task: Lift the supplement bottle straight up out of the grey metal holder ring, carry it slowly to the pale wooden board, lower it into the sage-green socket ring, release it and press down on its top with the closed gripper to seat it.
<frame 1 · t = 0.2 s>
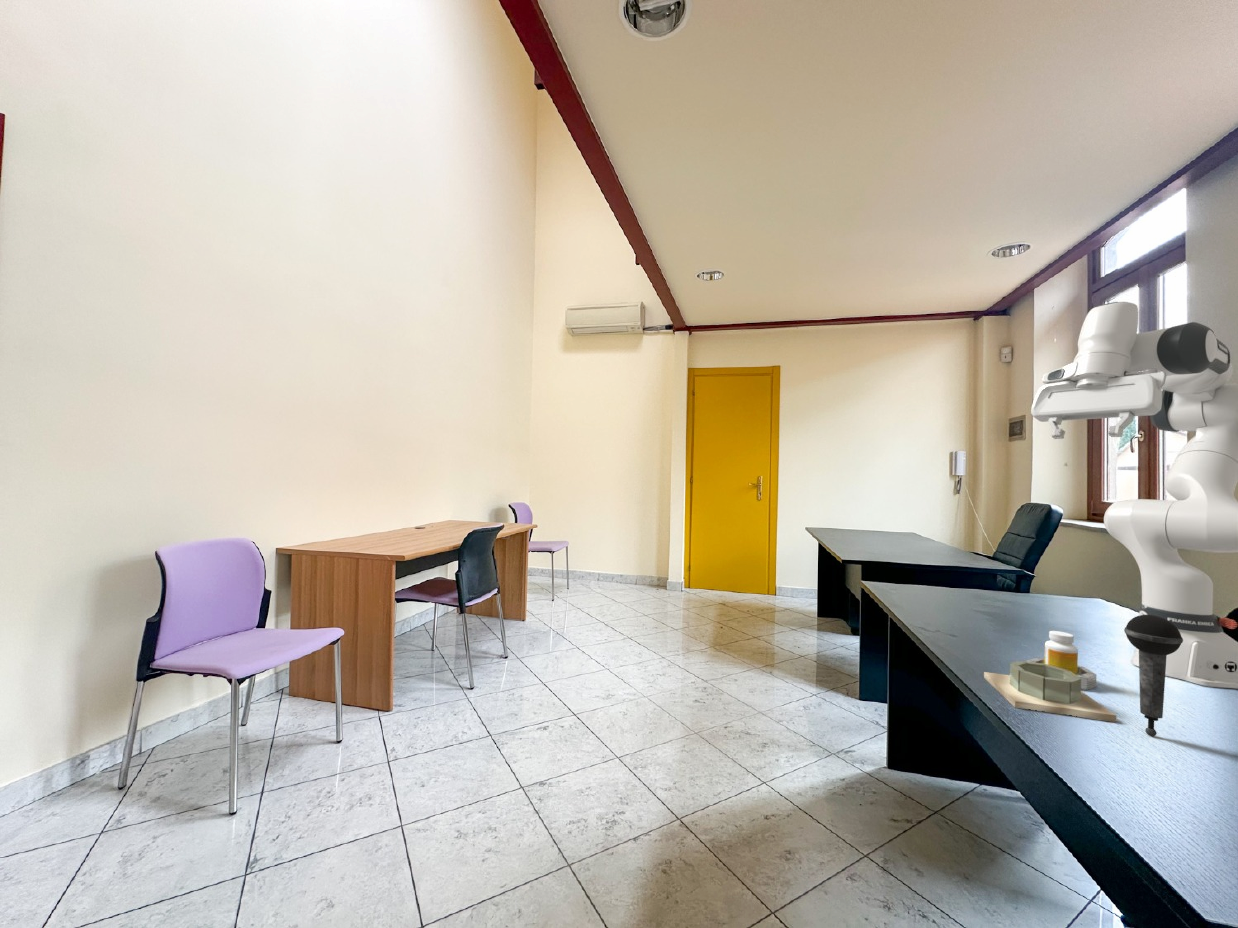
hand: (1084, 437, 104), 51 cm above the table, tool tilted 20°, fingers open, 8 cm apart
socket board: (1043, 697, 100), on the table
holder ring: (1060, 678, 110), on the table
microphone: (1150, 736, 86), on the table
supplement bottle: (1060, 679, 110), resting in holder ring
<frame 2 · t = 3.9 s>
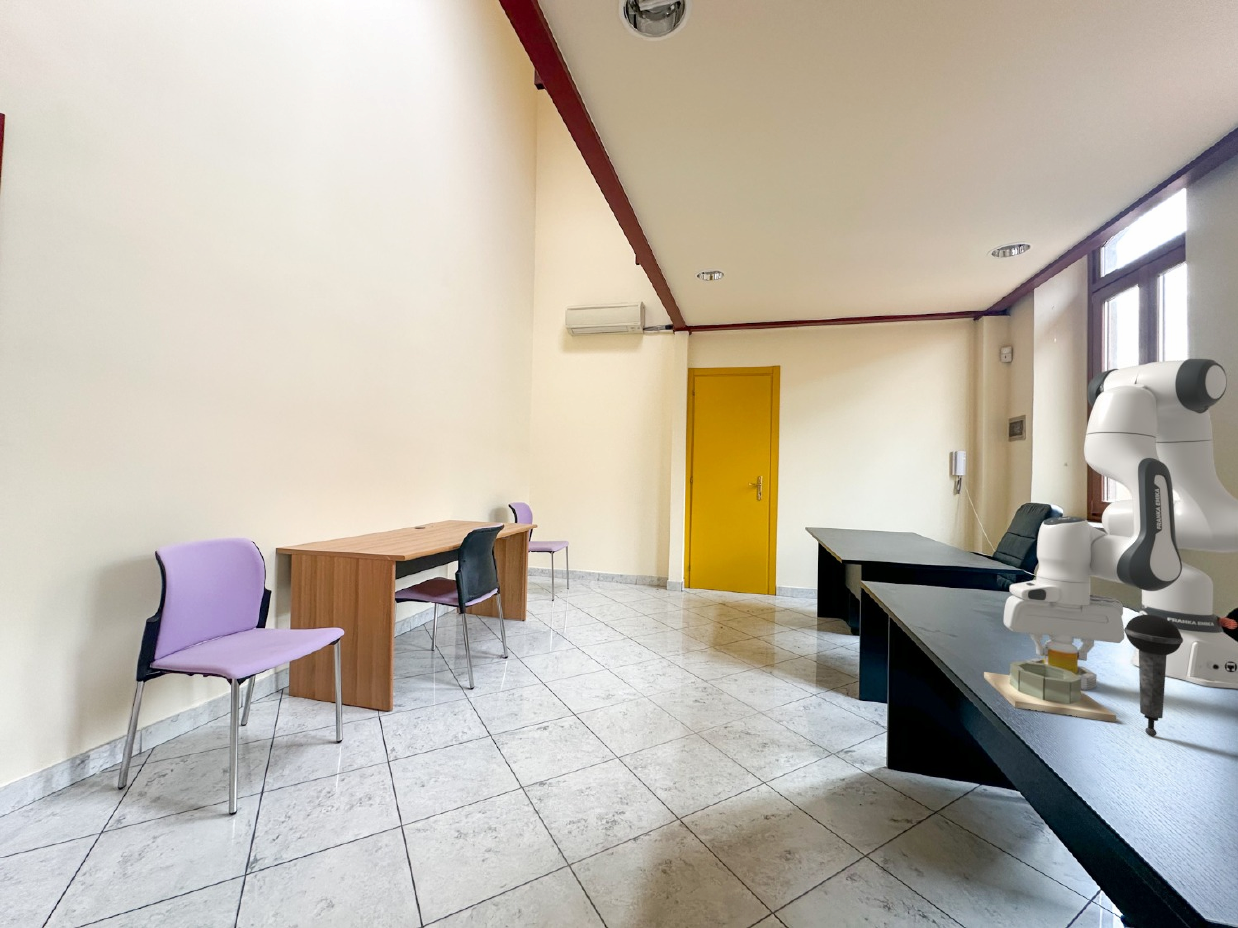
hand: (1060, 657, 110), 5 cm above the table, tool pointing down, fingers closed on supplement bottle, 5 cm apart
supplement bottle: (1060, 679, 110), resting in holder ring, touching gripper
everything else where it was.
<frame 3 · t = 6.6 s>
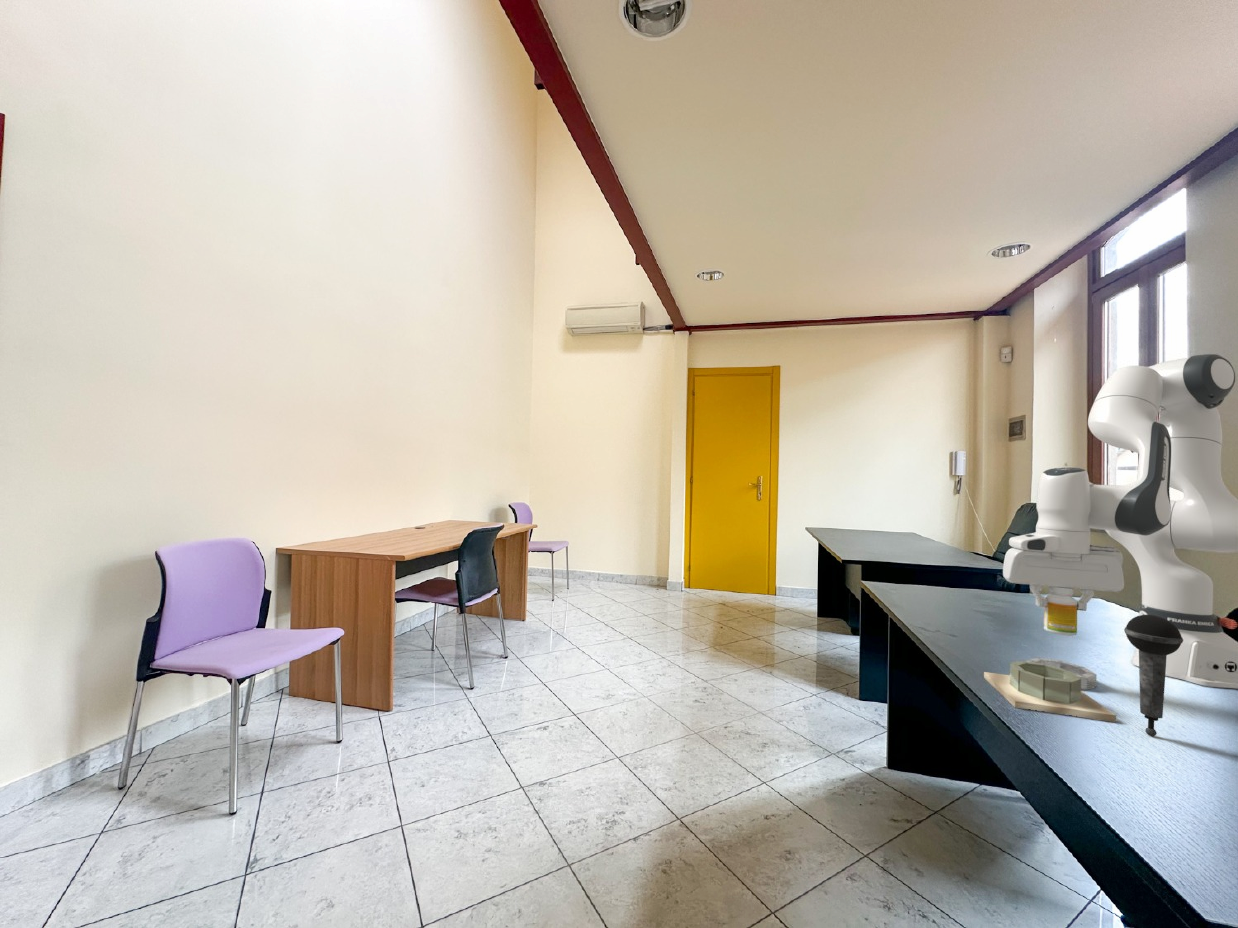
hand: (1060, 608, 110), 15 cm above the table, tool pointing down, fingers closed on supplement bottle, 5 cm apart
supplement bottle: (1059, 633, 110), point 10 cm above the table, touching gripper
everything else where it was.
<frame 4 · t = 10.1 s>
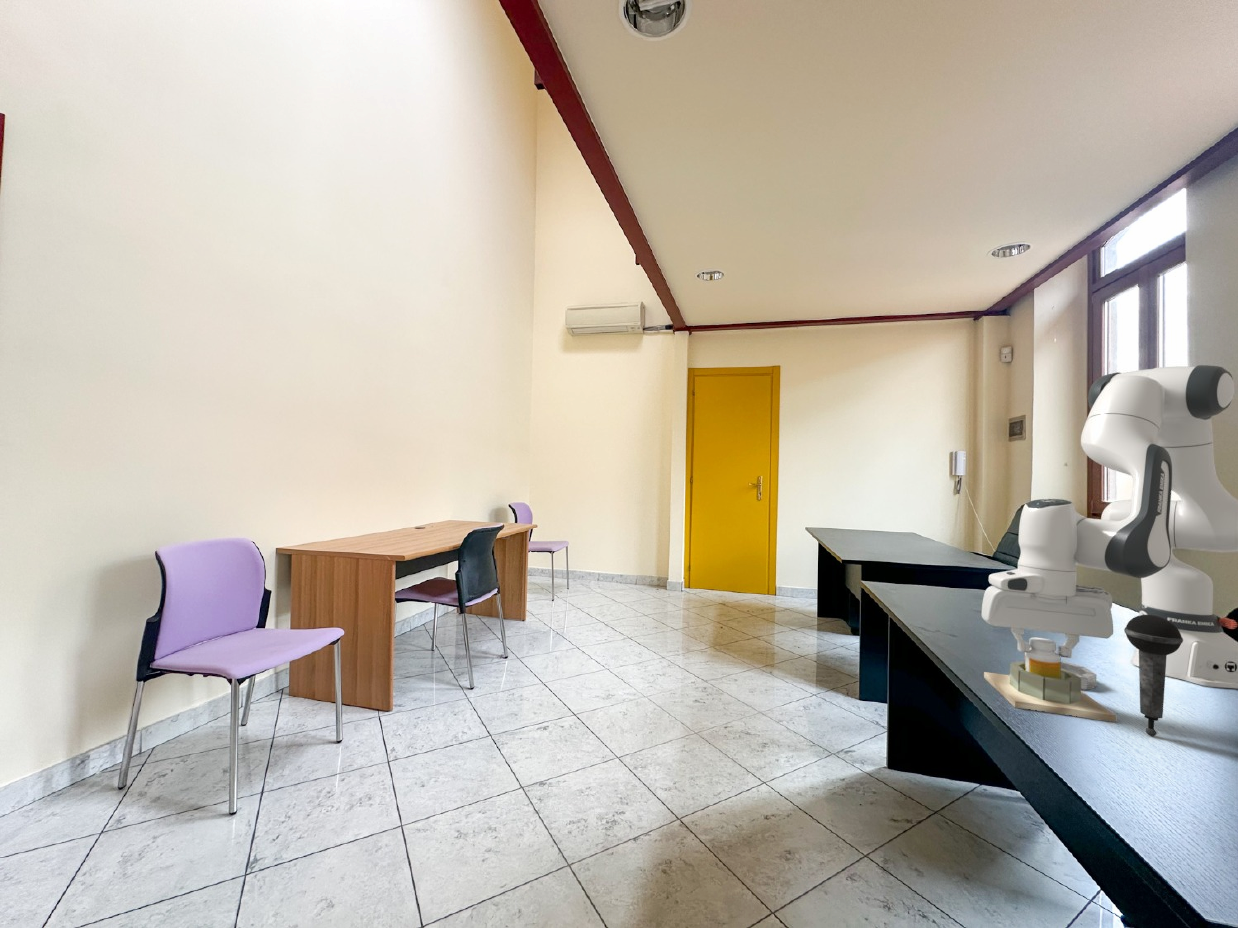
hand: (1043, 653, 100), 8 cm above the table, tool pointing down, fingers closed on supplement bottle, 5 cm apart
supplement bottle: (1043, 691, 100), point 1 cm above the table, touching gripper, socket board
everything else where it was.
when the fingers open (7 cm above the table, at t = 11.0 s): supplement bottle stays where it is, resting on socket board.
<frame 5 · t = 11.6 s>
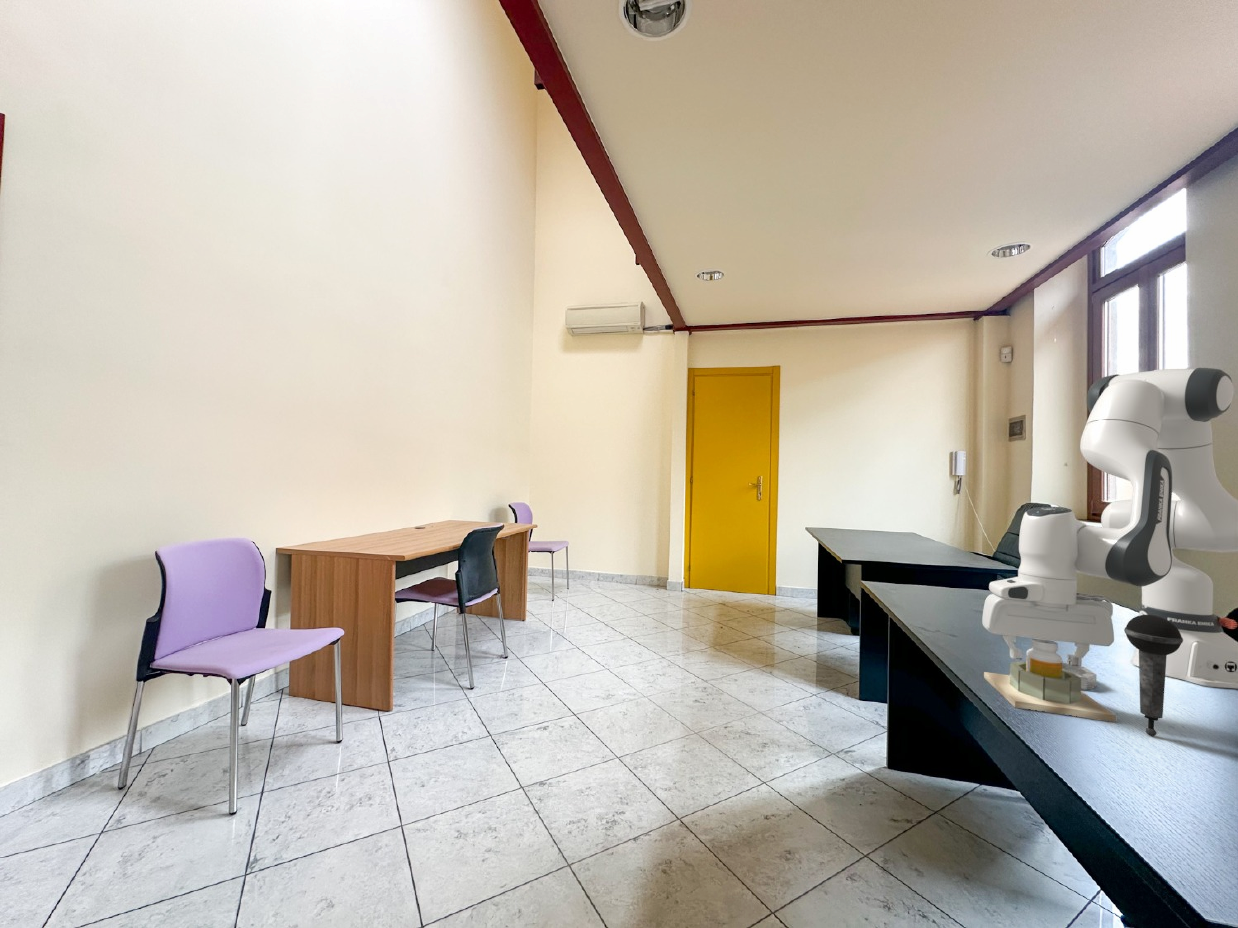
hand: (1044, 661, 100), 7 cm above the table, tool pointing down, fingers open, 8 cm apart
supplement bottle: (1043, 692, 100), point 1 cm above the table, touching socket board
everything else where it was.
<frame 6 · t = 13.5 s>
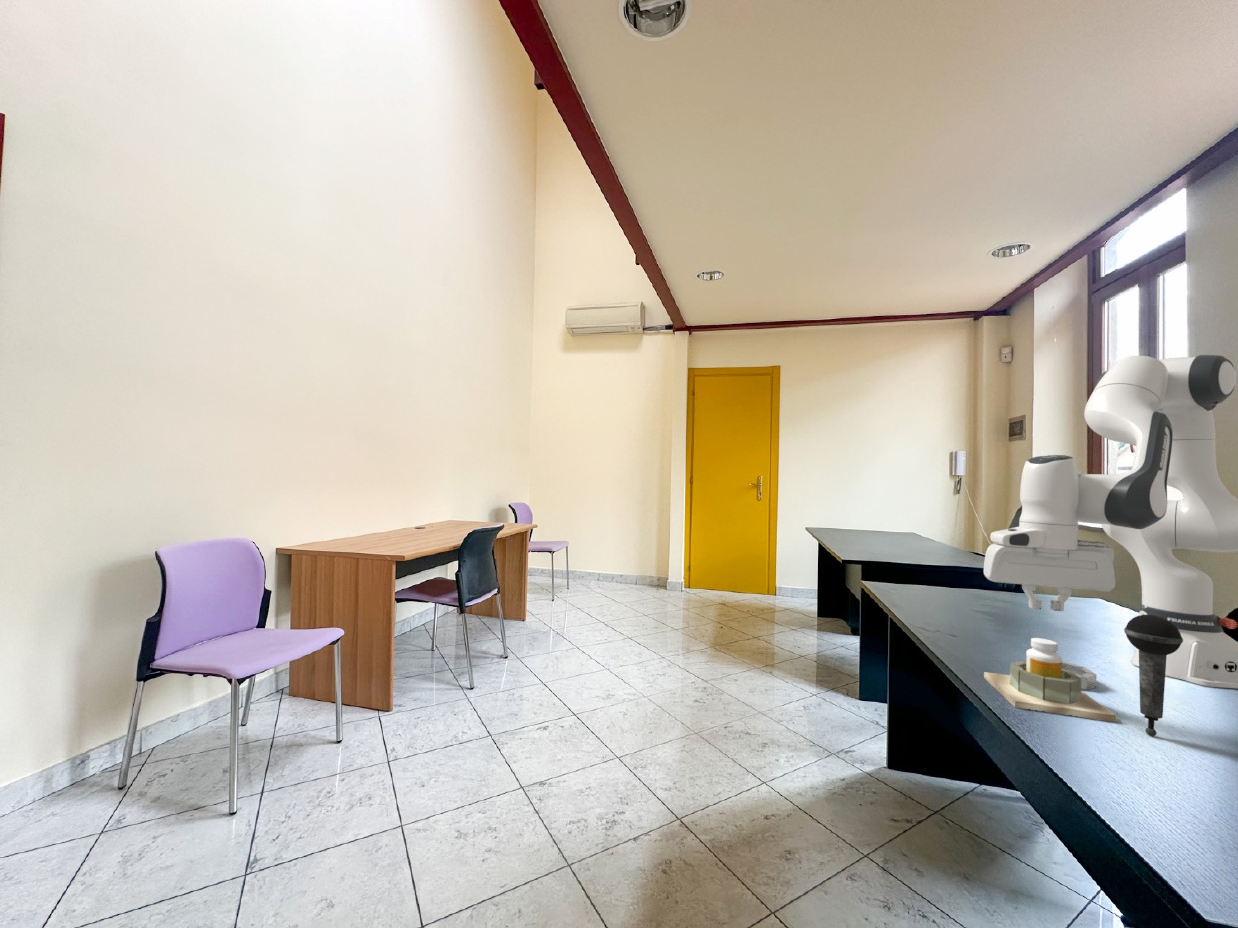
hand: (1045, 609, 100), 17 cm above the table, tool pointing down, fingers closed
nothing on the table moved.
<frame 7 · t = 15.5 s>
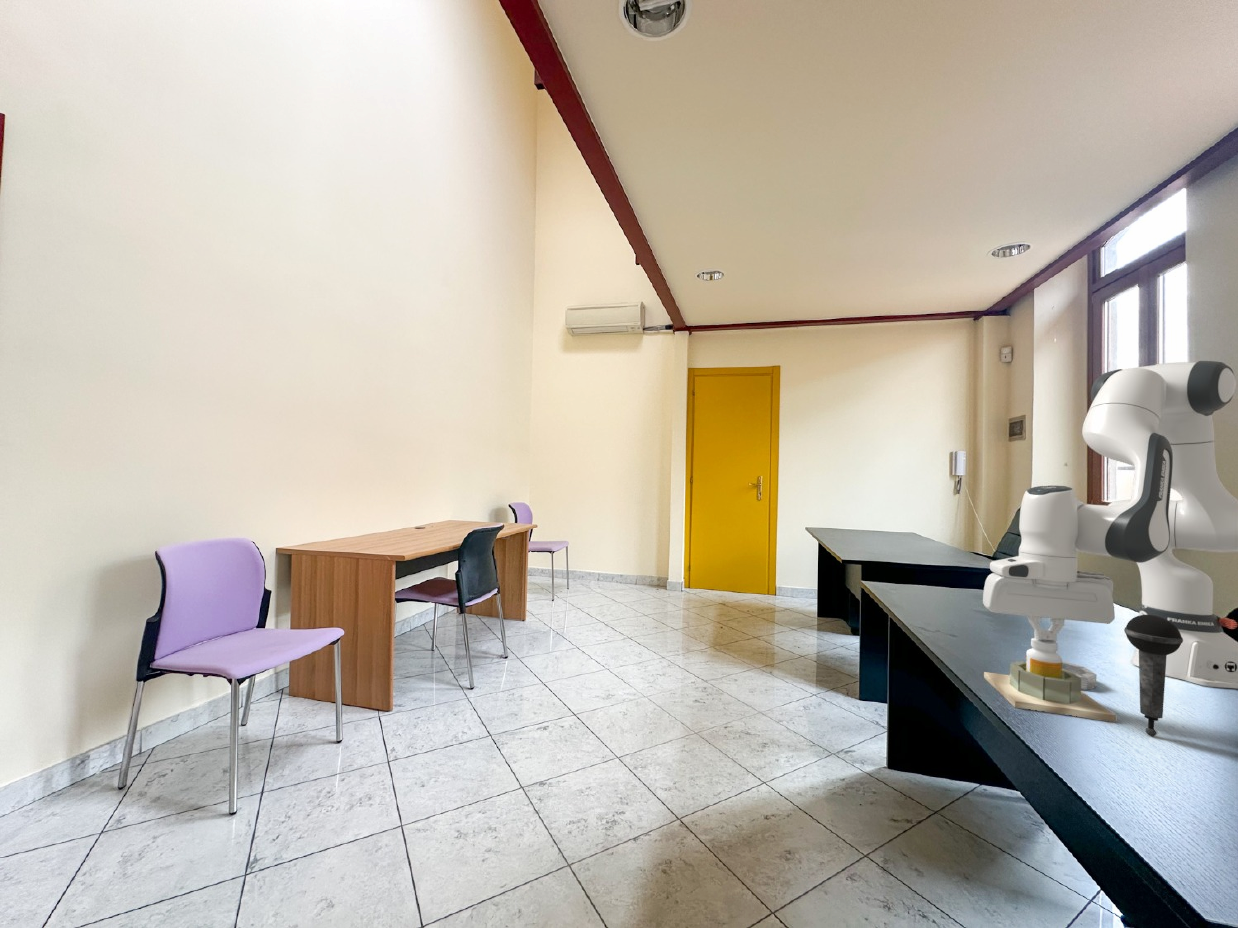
hand: (1045, 640, 100), 11 cm above the table, tool pointing down, fingers closed
nothing on the table moved.
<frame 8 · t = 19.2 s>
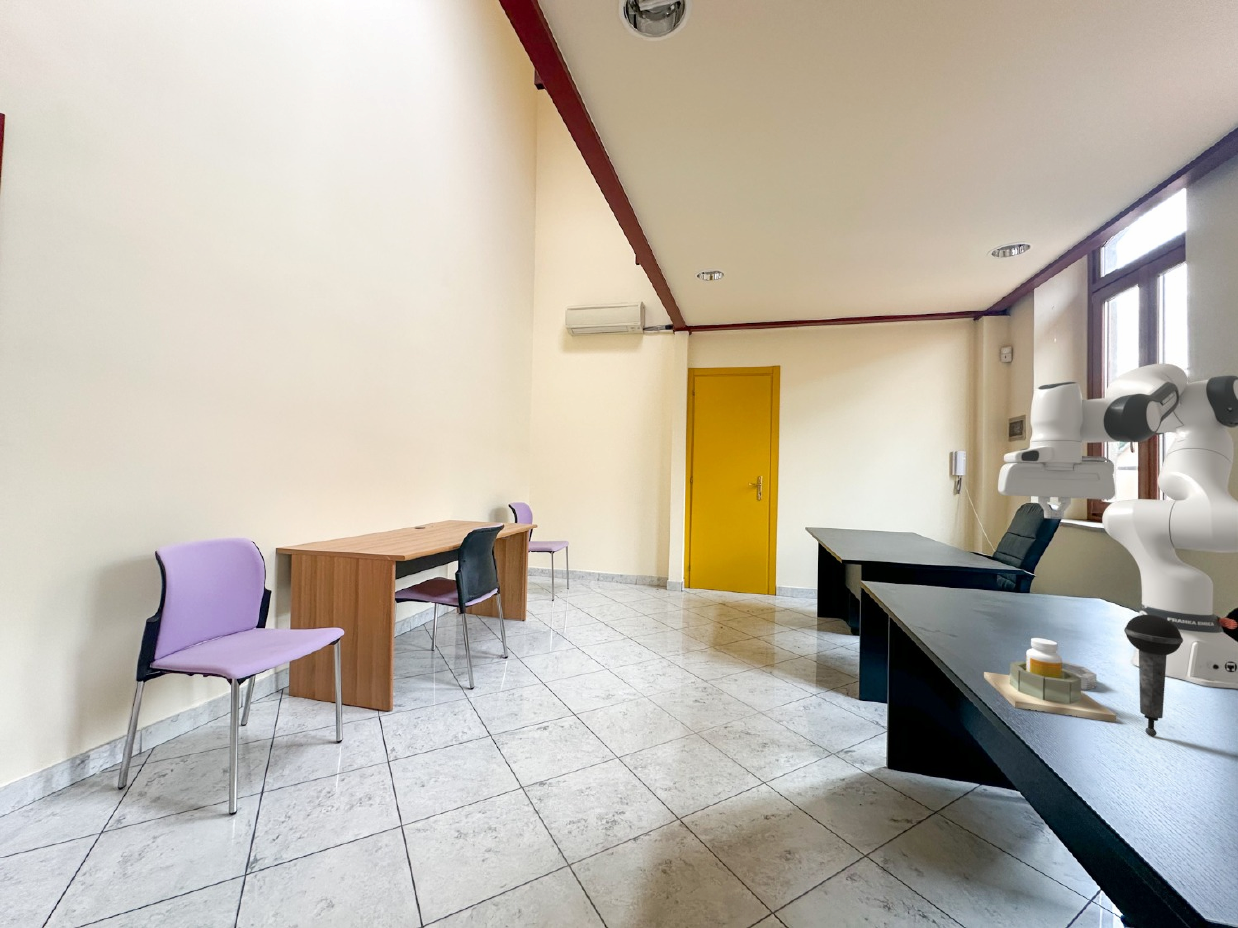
hand: (1053, 518, 113), 34 cm above the table, tool pointing down, fingers closed
nothing on the table moved.
at the end: supplement bottle 0.1 cm off-centre on the socket board, point 1.0 cm above the socket board's base; supplement bottle tilted 0°; the gripper is holding nothing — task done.
